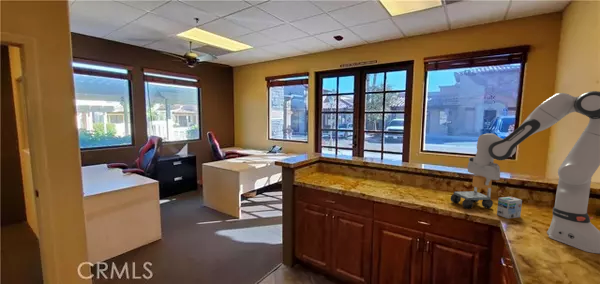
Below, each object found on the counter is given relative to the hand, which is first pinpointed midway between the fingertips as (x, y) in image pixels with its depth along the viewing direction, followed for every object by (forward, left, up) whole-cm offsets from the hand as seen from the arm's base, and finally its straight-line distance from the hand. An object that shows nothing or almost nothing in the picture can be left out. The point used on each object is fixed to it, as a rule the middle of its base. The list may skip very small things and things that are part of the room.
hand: (481, 183), depth 156 cm
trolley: (+16, -8, -20) cm, 27 cm away
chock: (0, 0, -2) cm, 2 cm away
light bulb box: (-3, -17, -20) cm, 27 cm away
